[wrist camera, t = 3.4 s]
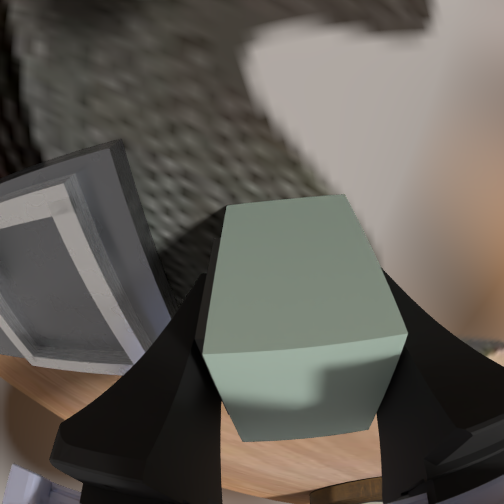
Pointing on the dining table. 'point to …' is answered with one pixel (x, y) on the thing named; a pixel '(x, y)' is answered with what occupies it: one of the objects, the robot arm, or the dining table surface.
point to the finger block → (298, 320)
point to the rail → (79, 265)
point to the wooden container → (350, 493)
